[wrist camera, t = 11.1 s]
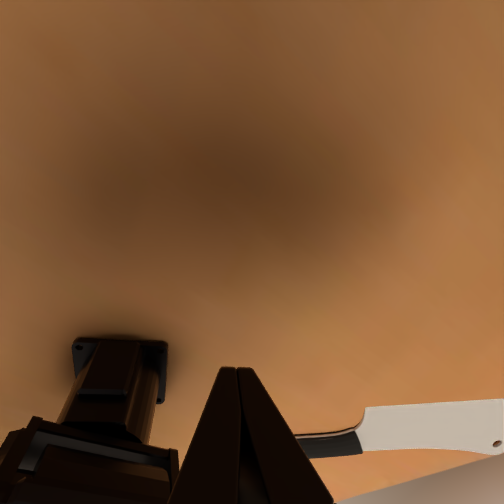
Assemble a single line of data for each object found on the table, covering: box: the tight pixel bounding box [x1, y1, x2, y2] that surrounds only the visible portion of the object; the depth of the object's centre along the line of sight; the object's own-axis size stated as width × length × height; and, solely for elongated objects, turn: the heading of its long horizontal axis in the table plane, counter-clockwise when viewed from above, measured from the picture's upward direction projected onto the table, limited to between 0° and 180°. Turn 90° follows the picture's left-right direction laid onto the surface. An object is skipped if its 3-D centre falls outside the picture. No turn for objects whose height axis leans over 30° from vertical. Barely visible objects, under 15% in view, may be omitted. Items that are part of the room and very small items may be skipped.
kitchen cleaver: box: [294, 399, 504, 459], centre depth 31 cm, size 31×2×10 cm
